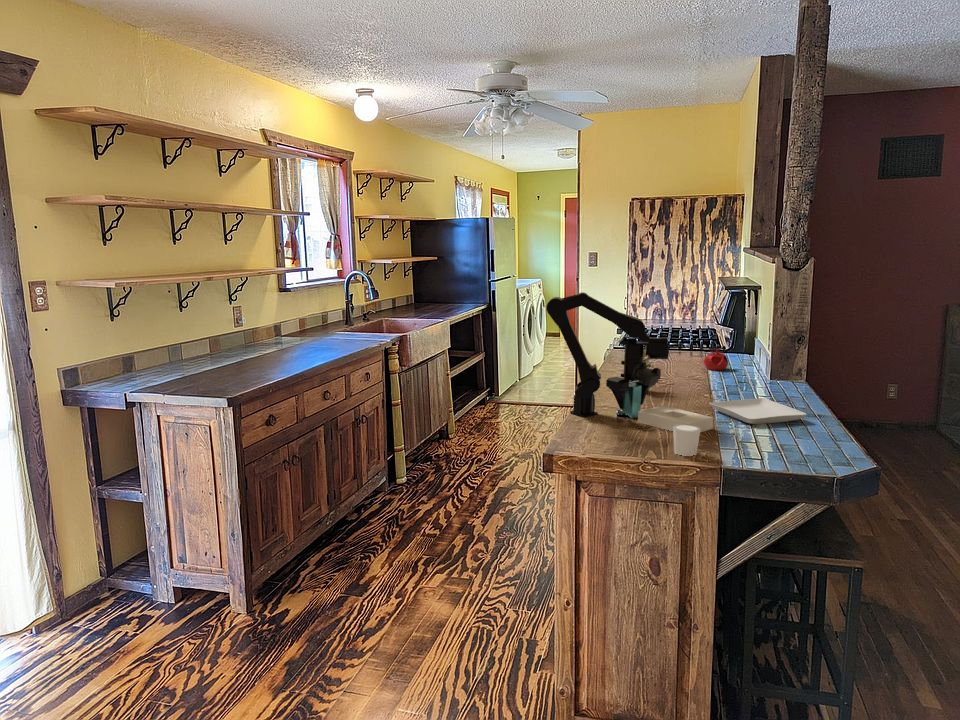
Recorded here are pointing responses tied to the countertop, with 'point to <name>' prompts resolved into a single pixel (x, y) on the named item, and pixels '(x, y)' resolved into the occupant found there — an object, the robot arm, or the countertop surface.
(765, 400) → the salad plate
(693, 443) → the white tapered cup
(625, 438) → the countertop surface
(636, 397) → the teal rectangular block
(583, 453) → the countertop surface
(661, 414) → the beige square hole board
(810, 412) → the countertop surface
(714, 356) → the pomegranate
